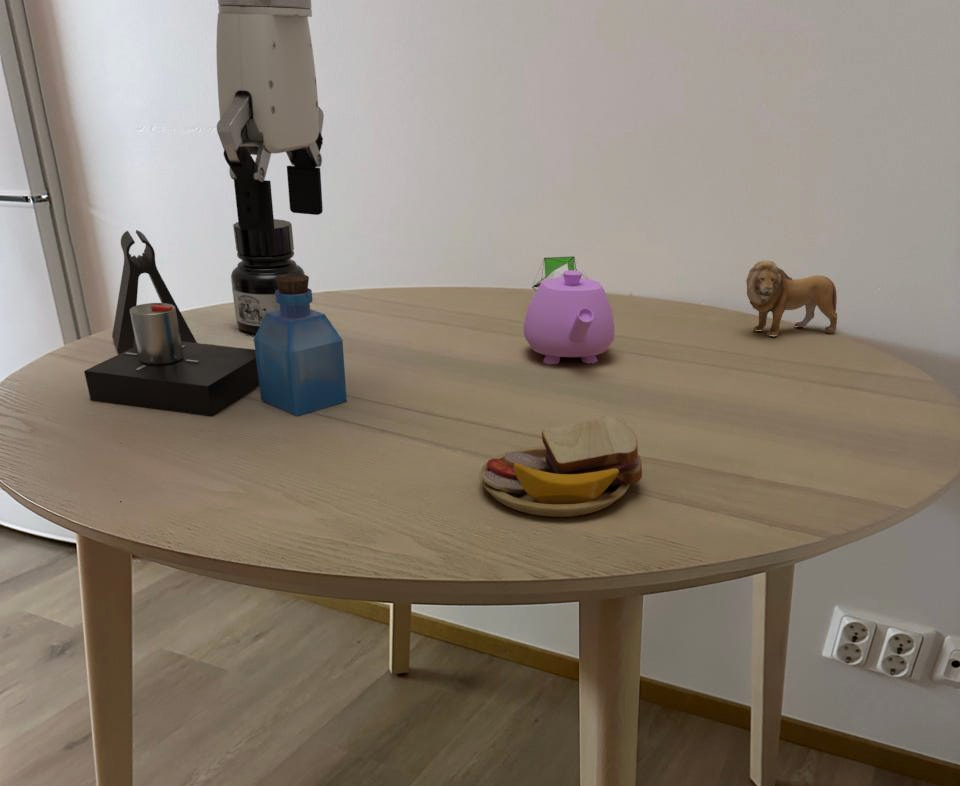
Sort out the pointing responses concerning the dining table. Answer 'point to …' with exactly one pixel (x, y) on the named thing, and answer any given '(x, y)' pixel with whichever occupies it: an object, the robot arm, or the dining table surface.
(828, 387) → the dining table surface
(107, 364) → the hob
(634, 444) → the toy sandwich meal
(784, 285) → the lion figurine
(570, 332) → the teapot
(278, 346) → the perfume bottle
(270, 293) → the ink bottle
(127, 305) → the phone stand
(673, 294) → the dining table surface
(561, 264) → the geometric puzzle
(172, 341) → the knob
